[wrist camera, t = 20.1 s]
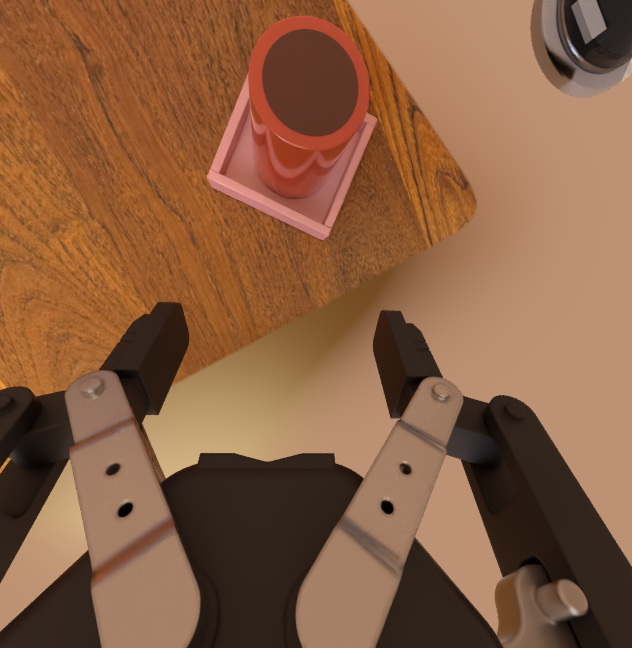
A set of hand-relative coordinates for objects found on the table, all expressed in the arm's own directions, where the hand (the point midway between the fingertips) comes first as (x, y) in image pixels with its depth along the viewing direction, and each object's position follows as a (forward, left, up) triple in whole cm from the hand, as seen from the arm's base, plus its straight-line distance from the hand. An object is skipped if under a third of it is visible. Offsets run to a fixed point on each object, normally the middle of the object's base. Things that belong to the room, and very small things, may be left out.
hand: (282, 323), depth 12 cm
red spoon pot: (-10, -3, -10) cm, 15 cm away
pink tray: (-10, -3, -11) cm, 15 cm away
